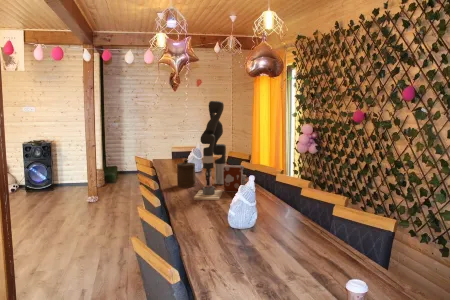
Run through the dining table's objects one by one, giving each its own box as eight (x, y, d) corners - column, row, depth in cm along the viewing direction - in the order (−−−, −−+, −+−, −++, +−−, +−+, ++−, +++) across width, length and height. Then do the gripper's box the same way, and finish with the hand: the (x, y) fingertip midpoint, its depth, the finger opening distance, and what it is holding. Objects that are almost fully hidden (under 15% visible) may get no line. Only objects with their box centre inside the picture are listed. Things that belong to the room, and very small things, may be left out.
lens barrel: (204, 192, 301) (203, 185, 301) (215, 192, 300) (215, 185, 300) (202, 195, 293) (202, 188, 292) (213, 195, 292) (213, 188, 292)
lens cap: (206, 186, 299) (206, 175, 298) (212, 186, 298) (211, 175, 297) (205, 187, 294) (205, 177, 293) (211, 187, 294) (211, 177, 293)
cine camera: (248, 193, 304) (248, 166, 302) (222, 192, 308) (222, 166, 306) (249, 190, 313) (249, 164, 311) (225, 189, 317) (225, 164, 314)
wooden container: (193, 183, 342) (192, 157, 340) (197, 186, 328) (196, 160, 325) (176, 184, 338) (175, 158, 336) (179, 188, 324) (178, 161, 321)
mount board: (199, 191, 310) (199, 189, 310) (222, 192, 308) (222, 190, 308) (193, 199, 286) (193, 197, 286) (218, 200, 284) (218, 197, 284)
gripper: (204, 160, 301) (205, 182, 303) (201, 163, 287) (202, 186, 289) (214, 160, 300) (215, 182, 303) (211, 163, 286) (212, 187, 288)
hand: (208, 184), depth 296 cm, fingers closed on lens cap, 4 cm apart
